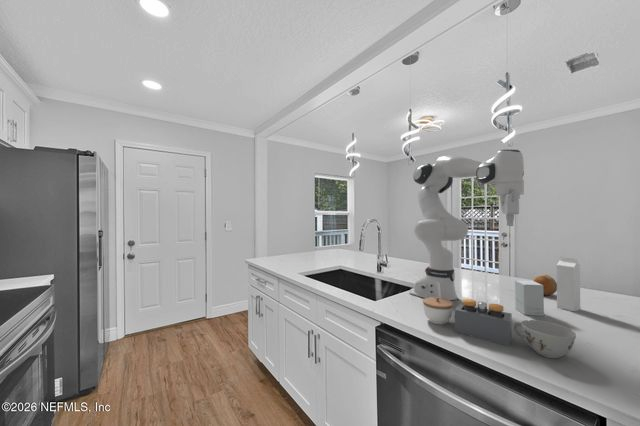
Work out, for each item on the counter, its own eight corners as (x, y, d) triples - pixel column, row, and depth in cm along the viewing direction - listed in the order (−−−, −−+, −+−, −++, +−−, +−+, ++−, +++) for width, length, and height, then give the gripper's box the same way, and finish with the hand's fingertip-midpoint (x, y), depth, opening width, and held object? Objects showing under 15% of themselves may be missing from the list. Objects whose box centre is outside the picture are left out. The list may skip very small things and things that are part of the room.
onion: (534, 290, 142) (534, 271, 142) (559, 294, 135) (558, 274, 135) (530, 294, 136) (530, 275, 136) (556, 299, 129) (556, 278, 129)
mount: (454, 331, 96) (454, 309, 96) (460, 324, 102) (460, 303, 102) (509, 346, 85) (509, 321, 85) (511, 336, 91) (511, 313, 91)
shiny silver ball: (477, 311, 93) (476, 303, 93) (478, 309, 95) (478, 301, 95) (486, 313, 92) (486, 305, 91) (487, 311, 94) (487, 302, 94)
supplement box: (544, 316, 108) (544, 285, 108) (523, 315, 110) (523, 284, 110) (533, 309, 116) (533, 280, 116) (514, 308, 117) (514, 279, 117)
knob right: (487, 333, 91) (487, 306, 91) (489, 328, 94) (489, 302, 94) (502, 336, 88) (502, 308, 88) (504, 332, 91) (504, 305, 91)
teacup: (582, 357, 79) (582, 329, 78) (567, 370, 72) (566, 341, 72) (523, 336, 91) (522, 313, 91) (505, 346, 85) (504, 321, 85)
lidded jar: (447, 329, 97) (447, 304, 97) (419, 321, 105) (418, 298, 105) (456, 320, 105) (456, 297, 105) (429, 313, 113) (429, 291, 113)
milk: (574, 311, 113) (574, 259, 112) (556, 307, 118) (556, 257, 118) (580, 309, 116) (580, 258, 115) (562, 304, 121) (562, 256, 121)
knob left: (461, 326, 96) (461, 301, 96) (464, 323, 99) (464, 298, 99) (475, 330, 93) (474, 303, 93) (477, 326, 96) (477, 300, 96)
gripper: (524, 188, 94) (524, 227, 94) (516, 191, 111) (516, 224, 111) (502, 189, 97) (502, 227, 97) (498, 192, 115) (498, 224, 115)
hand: (510, 225), depth 104 cm, fingers closed
